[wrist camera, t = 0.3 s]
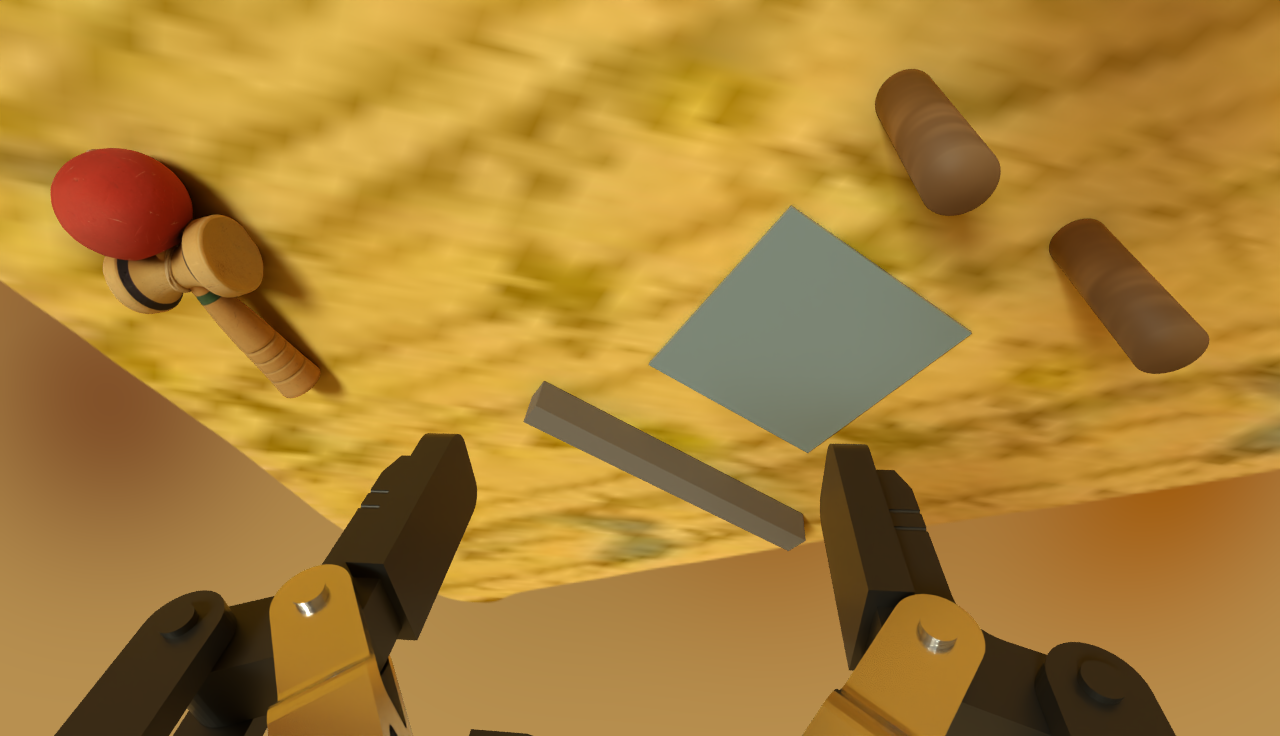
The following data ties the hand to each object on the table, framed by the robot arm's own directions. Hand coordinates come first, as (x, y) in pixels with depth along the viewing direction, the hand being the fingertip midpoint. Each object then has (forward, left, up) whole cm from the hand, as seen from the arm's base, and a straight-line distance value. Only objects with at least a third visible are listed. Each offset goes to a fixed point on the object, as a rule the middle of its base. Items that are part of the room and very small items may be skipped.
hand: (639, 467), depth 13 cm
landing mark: (+8, +14, -22) cm, 27 cm away
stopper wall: (+22, +14, -22) cm, 34 cm away
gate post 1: (-6, +8, -22) cm, 24 cm away
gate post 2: (-6, +20, -22) cm, 31 cm away
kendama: (+25, -19, -23) cm, 38 cm away
